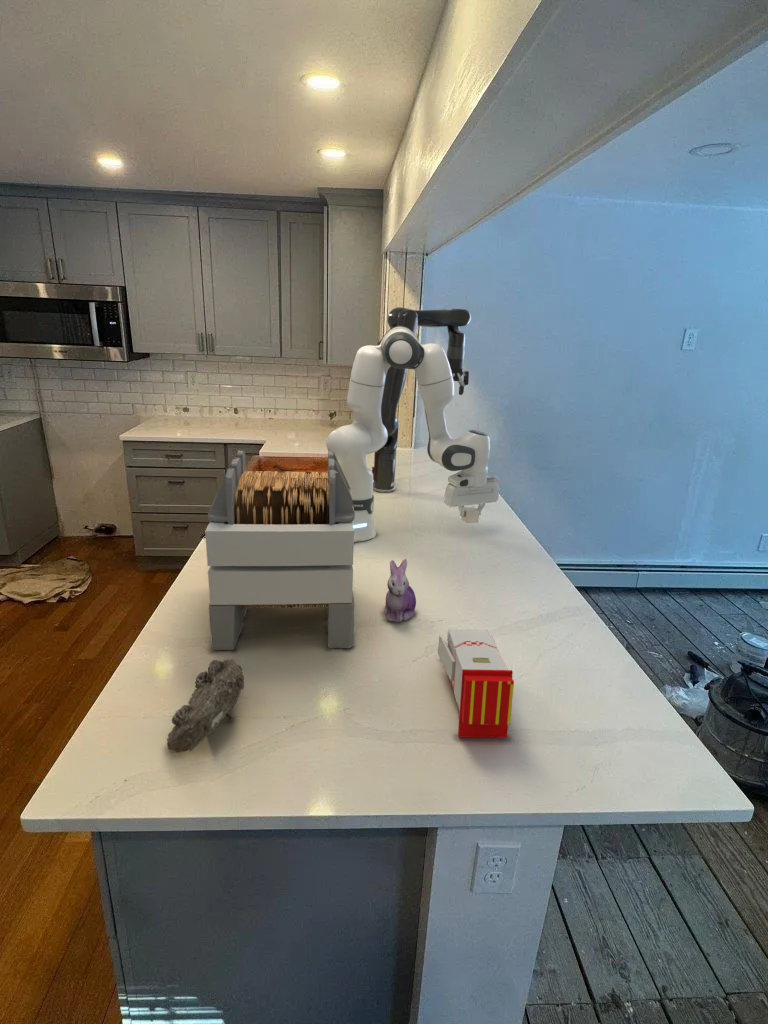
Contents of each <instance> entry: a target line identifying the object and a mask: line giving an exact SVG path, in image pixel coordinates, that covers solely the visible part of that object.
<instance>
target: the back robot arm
mask: <svg viewBox="0 0 768 1024" xmlns="http://www.w3.org/2000/svg"><path fill="white" fill-rule="evenodd" d="M471 320H472V315H471V313H470V311H469V310H468V309H465V308H451V309H445V308H443V309H441V308H439V309H420V310H419V309H418V310H417V309H412V308H408V307H403V306H402V307H401V306H397V307H394V308H392V309H391V310H390V311H389V312H388V315H387V324H388V326H389V328H390V329H391V328H393V327H395V326H405V327H407V328H409V329H410V330H411V331H412V332H413V333H414V335H415V336H416V334H417V329H418V327H424V328H447V333H448V342H447V350H446V356H447V359H448V362H449V365H450V368H451V372H452V377H453V382H457V383H458V384H459V387H458V395H460V396H462V395H463V394H464V393H465V386H468V385H469V381H470V380H469V378H470V371H468V370H464V371H463V369H464V363H465V362H464V361H465V344H466V334H465V333H464V332H462V331H461V330H460V327H466V326H467V325H469V324H470V322H471ZM407 374H408V369H399V368H395V367H392V366H391V367H390V368H389V369H388V371H387V374H386V379H385V385H384V391H383V397H382V404H381V418H382V423H383V425H384V426H385V428H386V430H387V433H388V439H387V442H386V444H385V445H384V446H383V447H381V448H380V449H379V450H377V451H376V452H373V454H374V455H373V456H374V458H373V460H374V461H373V462H374V463H373V466H372V468H371V471H372V473H373V491H375V492H378V493H391V492H394V491H395V485H396V481H395V480H396V462H397V446H398V442H399V441H398V440H399V428H400V427H399V426H400V425H399V419H398V417H397V409H398V404H399V402H400V399H401V396H402V393H403V390H404V387H405V385H406V380H407ZM462 376H463V378H462ZM272 468H273V469H275V468H276V469H278V470H279V471H280V472H285V471H286V472H287V471H288V472H304V471H301V470H295V469H294V470H293V469H285V468H282V467H280V466H279V465H278V464H274V465H273V466H272ZM306 472H307V475H308V472H309V475H310V472H311V471H306ZM320 473H321V472H319V476H320Z"/></svg>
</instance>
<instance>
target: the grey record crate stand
mask: <svg viewBox="0 0 768 1024" xmlns="http://www.w3.org/2000/svg"><path fill="white" fill-rule="evenodd" d="M246 461H247V459H246V450H240V449H238V450H237V452H236V454H235V456H234V457H233V458H232V461H231V463H230V465H229V467H228V468H227V469H226V472H225V473H224V476H223V478H222V480H221V483H220V486H219V487H218V489H217V491H216V494H215V496H214V498H213V501H212V503H211V504H210V508H209V509H208V512H207V518H208V521H209V523H208V525H207V527H206V529H205V531H204V533H205V549H206V565H207V567H209V569H208V571H207V577H208V592H209V603H208V616H209V617H208V618H209V630H210V636H211V647H210V649H211V651H218V652H219V650H222V651H228V650H229V651H234V649H235V647H236V645H237V642H238V640H239V636H240V634H241V632H242V629H243V619H245V618H246V613H247V609H252V608H253V609H267V608H268V609H273V608H275V609H276V608H278V609H279V608H282V609H283V608H284V609H285V608H290V609H291V608H317V607H318V608H323V607H324V608H326V611H327V613H326V614H327V642H328V643H327V647H328V649H333V648H334V649H335V648H336V649H351V648H352V647H354V636H355V635H354V633H355V628H354V627H355V599H354V598H355V597H354V591H353V589H354V588H353V587H354V586H353V585H354V567H353V566H354V552H355V551H354V549H355V547H354V546H355V542H354V527H353V520H354V519H355V511H354V506H353V500H352V494H351V488H350V486H349V484H348V482H347V480H346V478H345V475H344V473H343V471H342V469H341V467H340V465H339V462H338V460H337V458H336V456H335V454H334V452H331V451H328V450H327V471H321V472H319V471H303V472H288V471H287V472H286V471H284V472H279V471H277V470H276V471H273V470H272V471H271V470H265V471H263V470H256V471H253V470H247V462H246ZM307 472H308V474H307ZM309 472H310V474H309ZM319 473H320V475H319Z"/></svg>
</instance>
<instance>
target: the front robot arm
mask: <svg viewBox="0 0 768 1024" xmlns="http://www.w3.org/2000/svg"><path fill="white" fill-rule="evenodd" d="M391 366H392V367H395V368H399V369H407V370H413V371H414V373H415V377H416V381H417V385H418V389H419V390H418V391H419V394H420V397H421V400H422V403H423V407H424V414H425V419H426V424H427V431H428V442H427V448H426V449H427V450H426V451H427V455H428V457H429V458H430V460H431V461H432V462H434V463H436V464H437V465H440V466H441V467H443V469H445V470H447V471H451V472H455V473H454V474H452V475H449V476H448V477H447V482H448V484H447V485H446V486H445V491H444V499H443V502H444V504H445V505H446V506H448V507H449V508H455V507H457V509H458V511H459V517H460V518H461V517H465V516H466V512H464V511H463V508H464V507H465V506H473V505H478V506H477V507H476V508H477V509H478V510H479V511H480V512H479V516H481V515H482V511H483V509H484V508H485V506H486V504H491V503H496V502H498V500H499V496H500V495H499V484H500V480H499V479H500V478H498V477H497V476H496V475H491V476H488V472H489V469H488V462H489V461H490V454H491V441H490V436H489V435H488V434H487V433H485V432H483V431H480V430H474V429H470V430H467V431H466V433H464V434H463V435H461V436H459V437H457V438H455V439H453V437H452V436H451V435H450V433H449V431H448V428H447V421H446V415H445V409H446V406H448V405H449V404H450V403H451V402H452V400H453V399H454V396H455V381H453V377H452V372H451V368H450V365H449V362H448V359H447V353H446V351H445V349H444V347H443V346H442V345H441V344H438V343H434V342H432V343H431V342H430V343H426V344H424V343H420V342H419V340H418V338H417V336H416V334H415V335H414V333H413V332H412V331H411V330H410V329H409V328H407V327H405V326H395V327H393V328H390V329H388V330H387V331H386V332H385V334H384V335H383V336H382V338H381V339H380V340H379V342H378V343H377V345H371V344H369V345H364V346H360V348H359V349H358V350H357V352H356V354H355V356H354V360H353V363H352V367H351V370H350V375H349V378H350V379H349V384H348V390H347V398H346V404H347V406H348V407H349V409H350V410H351V411H352V423H351V424H345V425H342V426H338V428H336V429H333V430H332V431H331V432H330V433H328V435H327V437H326V449H327V452H328V451H331V452H334V454H335V456H336V458H337V460H338V462H339V465H340V467H341V469H342V471H343V473H344V475H345V478H346V480H347V482H348V484H349V486H350V488H351V494H352V500H353V506H354V511H355V519H354V520H353V527H354V543H357V542H365V541H368V540H372V539H373V538H375V537H376V535H377V532H376V528H375V523H374V513H373V512H374V509H375V496H374V490H373V473H372V469H369V468H368V465H367V461H366V456H367V455H370V454H372V453H373V454H374V453H375V452H376V451H377V450H379V449H380V448H381V447H383V446H384V445H385V444H386V442H387V439H388V433H387V430H386V428H385V426H384V425H383V423H382V418H381V404H382V397H383V391H384V385H385V379H386V374H387V371H388V369H389V368H390V367H391ZM199 538H200V539H204V538H206V536H205V532H204V533H203V534H202V535H201V536H200V537H199Z"/></svg>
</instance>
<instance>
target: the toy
mask: <svg viewBox="0 0 768 1024" xmlns="http://www.w3.org/2000/svg"><path fill="white" fill-rule="evenodd" d="M446 640H447V643H446V641H445V639H444V636H443V635H442V634H439V637H438V646H437V656H438V657H439V659H440V661H441V663H442V666H443V668H444V670H445V672H446V674H447V677H448V679H449V681H450V684H451V687H452V690H453V693H454V697H455V701H456V705H457V708H458V711H459V714H458V715H459V716H458V730H457V731H458V732H457V737H458V738H508V731H509V726H510V725H511V717H512V707H513V697H514V696H513V695H514V684H515V680H514V679H513V673H514V671H513V670H512V669H508V667H507V665H506V662H505V661H504V659H503V658H502V655H501V653H500V651H499V649H498V647H497V643H496V639H495V637H494V635H493V634H491V632H490V631H489V629H467V628H466V629H465V628H463V629H461V628H460V629H459V628H448V630H447V639H446Z"/></svg>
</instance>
